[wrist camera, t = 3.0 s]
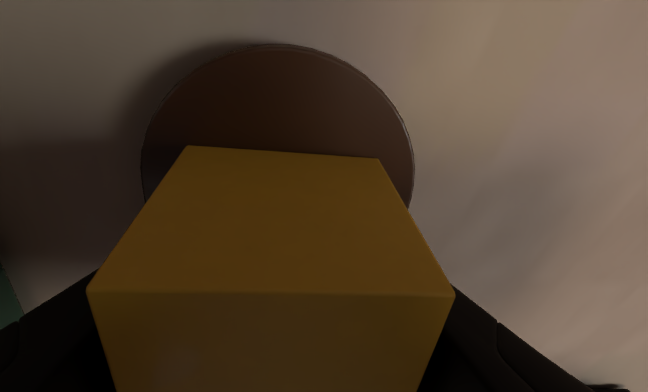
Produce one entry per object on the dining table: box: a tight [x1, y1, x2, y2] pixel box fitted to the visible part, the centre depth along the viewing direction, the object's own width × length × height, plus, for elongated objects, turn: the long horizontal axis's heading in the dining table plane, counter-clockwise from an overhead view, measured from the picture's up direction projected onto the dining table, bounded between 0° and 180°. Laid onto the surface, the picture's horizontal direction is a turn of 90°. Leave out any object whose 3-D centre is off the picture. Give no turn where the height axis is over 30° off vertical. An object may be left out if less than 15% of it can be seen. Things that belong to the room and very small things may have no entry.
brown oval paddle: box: [140, 44, 415, 210], centre depth 12 cm, size 23×7×1 cm, turn 174°
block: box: [86, 145, 455, 392], centre depth 7 cm, size 4×4×4 cm
